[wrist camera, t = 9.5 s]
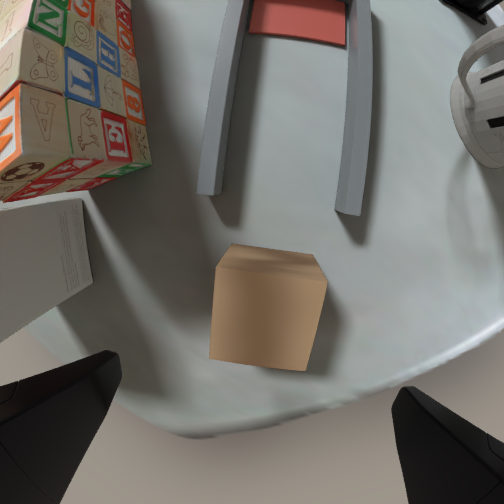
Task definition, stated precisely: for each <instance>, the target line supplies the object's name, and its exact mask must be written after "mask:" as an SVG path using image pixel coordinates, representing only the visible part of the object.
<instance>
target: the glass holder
mask: <svg viewBox="0 0 504 504" xmlns="http://www.w3.org/2000/svg"><path fill="white" fill-rule="evenodd" d="M501 44H504V25H502V26H500V27H498V28H495V29H493V30H490V31H489V32H487V33H486V34H484V35H483V36H481V37H480V38H478V39H477V40H476V41H474V42H473V43H472V44H471V45H470V47H469V48H468V49H467V50H466V51H465V52H464V54H463V56H462V58H461V60H460V63H459V67H458V76H457V77H456V78H455V79H454V81H453V83H452V86H451V91H450V104H451V111H452V116H453V120H454V123H455V126H456V128H457V131H458V133H459V136H460V137H461V139H462V141H463V143H464V145H465V146H466V148H467V149H468V151H469V152H470V153H471V154H472V156H473V157H474V158H475V159H476V160H477V161H478V162H480V163H481V164H483V165H484V166H486V167H489V168H500V167H503V166H504V60H502V61H500V62H498V63H495V64H493V65H491V66H489V67H486V68H484V69H482V70H480V71H478V72H468V71H469V70H470V68H471V66H472V65H473V64H474V63H475V62H476V61H477V60H478V59H479V58H480V57H481V56H482V55H484V54H485V53H487V52H488V51H490V50H492V49H493V48H495V47H496V46H498V45H501Z"/></svg>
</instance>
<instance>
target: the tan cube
mask: <svg viewBox="0 0 504 504" xmlns="http://www.w3.org/2000/svg"><path fill="white" fill-rule="evenodd" d="M327 284H328V281H327V279H326V278H325V276H324V274H323V272H322V270H321V268H320V267H319V265H318V263H317V261H316V259H315V258H314V256H313V255H311V254H304V253H297V252H290V251H282V250H275V249H268V248H261V247H253V246H246V245H239V244H231V245H230V247H229V248H228V250H227V251H226V253H225V254H224V256H223V257H222V259H221V260H220V262H219V263H218V265H217V266H216V272H215V284H214V296H213V309H212V323H211V337H210V353H209V359H214V360H220V361H226V362H232V363H239V364H246V365H253V366H261V367H269V368H278V369H287V370H298V371H306V367H307V364H308V360H309V357H310V353H311V350H312V346H313V342H314V338H315V334H316V331H317V327H318V323H319V319H320V314H321V310H322V306H323V302H324V297H325V293H326V288H327Z"/></svg>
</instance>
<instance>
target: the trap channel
mask: <svg viewBox="0 0 504 504" xmlns="http://www.w3.org/2000/svg"><path fill="white" fill-rule="evenodd" d="M345 3H346V4H348V8H349V57H348V83H347V100H346V114H345V126H344V137H343V147H342V156H341V165H340V173H339V181H338V189H337V196H336V203H335V210H337V211H339V212H342V213H344V214H350V215H356V216H360V212H361V206H362V199H363V192H364V185H365V177H366V168H367V159H368V149H369V138H370V125H371V109H372V81H373V51H372V24H371V9H370V0H254V5H253V10H252V16H251V21H250V27H249V33H255V34H269V35H279V36H288V37H296V38H302V39H309V40H315V41H320V42H326V43H331V44H335V45H340V46H345ZM249 5H250V0H229V1H228V5H227V9H226V13H225V17H224V22H223V26H222V31H221V36H220V41H219V45H218V50H217V56H216V61H215V66H214V71H213V77H212V83H211V89H210V95H209V101H208V107H207V114H206V120H205V127H204V134H203V142H202V150H201V158H200V166H199V175H198V184H197V193H196V194H203V195H213V196H214V195H219V194H221V191H222V182H223V174H224V166H225V157H226V149H227V142H228V134H229V127H230V119H231V112H232V105H233V99H234V92H235V85H236V79H237V73H238V66H239V60H240V54H241V48H242V43H243V37H244V31H245V26H246V20H247V15H248V10H249Z"/></svg>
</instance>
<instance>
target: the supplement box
mask: <svg viewBox="0 0 504 504" xmlns="http://www.w3.org/2000/svg"><path fill="white" fill-rule="evenodd" d="M91 284H93V280H92V274H91V268H90V262H89V256H88V249H87V242H86V234H85V227H84V218H83V207H82V200H81V198H70V199H62V200H55V201H47V202H41V203H34V204H28V205H22V206H16V207H11V208H5V209H0V343H1V342H3V341H4V340H5V339H7V338H8V337H9V336H11V335H13V334H14V333H15V332H17V331H18V330H20V329H21V328H23V327H24V326H26V325H27V324H29V323H30V322H32V321H33V320H35V319H36V318H38V317H40V316H41V315H43V314H44V313H46V312H47V311H49V310H50V309H52V308H53V307H55V306H57V305H58V304H60V303H61V302H63V301H65V300H66V299H68V298H69V297H71V296H73V295H74V294H76V293H78V292H79V291H81V290H82V289H84V288H86V287H87V286H89V285H91Z"/></svg>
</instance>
